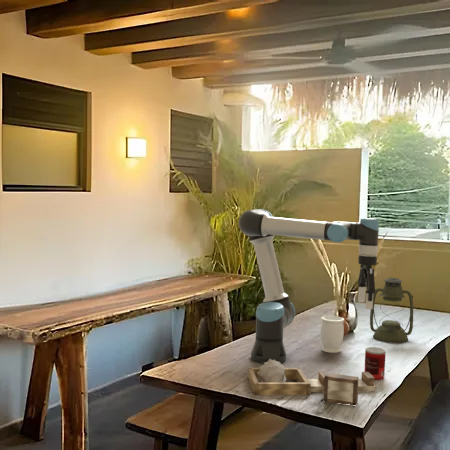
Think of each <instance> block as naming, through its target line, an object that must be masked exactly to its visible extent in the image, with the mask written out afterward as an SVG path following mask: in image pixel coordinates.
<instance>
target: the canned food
mask: <svg viewBox="0 0 450 450" xmlns="http://www.w3.org/2000/svg"><path fill="white" fill-rule="evenodd" d="M385 367H386V350H385V349H384V348H382V347H376V346H375V347H373V346H372V347H371V346H370V347H366V348H365V353H364V371H363V372H369V373H370V374H371V375H372V376H373V377H374V378H375V381H377V382H378V381H382V380H384V379H385V371H386V370H385V369H386V368H385Z"/></svg>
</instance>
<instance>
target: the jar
mask: <svg viewBox="0 0 450 450" xmlns="http://www.w3.org/2000/svg"><path fill="white" fill-rule="evenodd" d="M344 322H345V318H344V317H342V316H341V317H340V316H337V315H324V316H322V317H321V325H320V338H321V339H320V340H321V344H322V351H323V352H325V353H329V354H330V353H332V354H336V353H337V354H338V353H340V352H341V351H342V349H341V346H342V345H343V339H344V333H345V327H344Z"/></svg>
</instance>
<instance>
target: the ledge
mask: <svg viewBox="0 0 450 450" xmlns="http://www.w3.org/2000/svg"><path fill="white" fill-rule="evenodd" d="M326 373H327V372H326V371H318V375H317V376H318V378H315V379H314V378H307V379H308V381H309V382H310V384H311V387H310V393H311V392H312V393H324V380H325V375H326ZM375 381H376V380H375V378H374V377H373V376H372V375H371V374H370V373H369V372H364V371H361V377H360V378H359V382H358V393H360V392H361V393H367V392H366V391H370V393H372V392H371V391H376V392H377V386H376V385H375ZM359 391H360V392H359Z"/></svg>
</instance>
